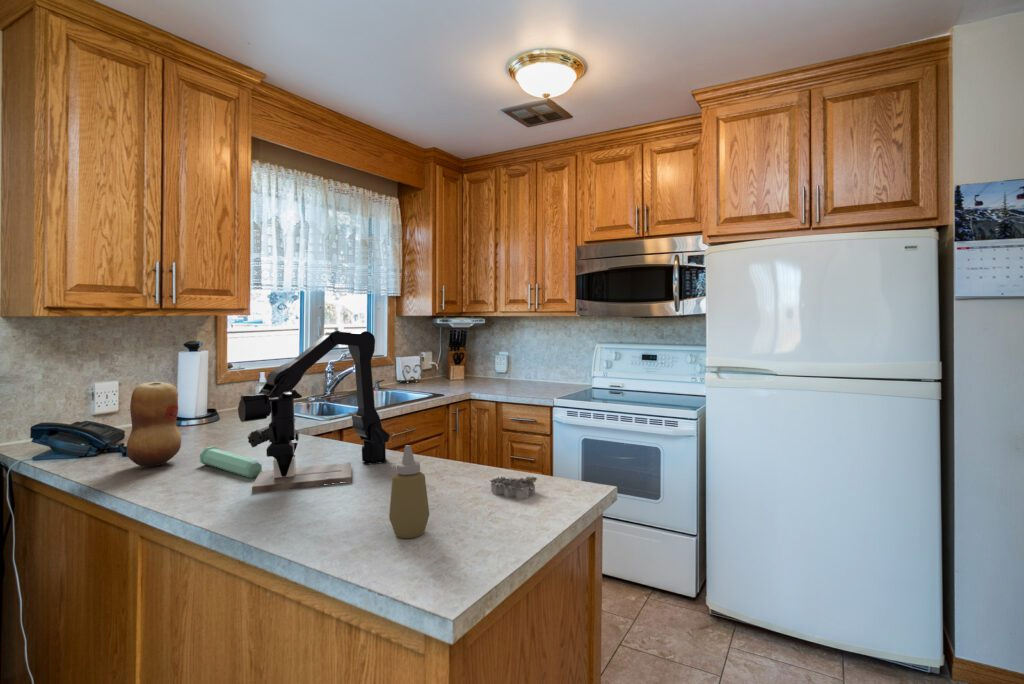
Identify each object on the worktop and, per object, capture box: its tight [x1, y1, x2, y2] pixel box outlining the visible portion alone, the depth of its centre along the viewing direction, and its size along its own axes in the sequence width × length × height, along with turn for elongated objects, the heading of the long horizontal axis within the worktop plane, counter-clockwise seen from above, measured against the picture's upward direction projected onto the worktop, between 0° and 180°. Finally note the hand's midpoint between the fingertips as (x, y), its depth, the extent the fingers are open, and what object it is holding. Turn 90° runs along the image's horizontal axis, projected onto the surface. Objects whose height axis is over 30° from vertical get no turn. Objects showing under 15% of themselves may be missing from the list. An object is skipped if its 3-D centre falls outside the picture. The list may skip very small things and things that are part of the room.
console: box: [251, 462, 352, 493], centre depth 143 cm, size 24×14×2 cm, turn 107°
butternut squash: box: [126, 381, 182, 467], centre depth 158 cm, size 14×13×25 cm
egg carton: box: [488, 476, 538, 500], centre depth 130 cm, size 11×8×4 cm
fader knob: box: [272, 454, 297, 478], centre depth 141 cm, size 5×4×5 cm
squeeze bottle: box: [388, 444, 430, 539], centre depth 106 cm, size 8×8×18 cm
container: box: [199, 445, 263, 479], centre depth 152 cm, size 6×6×25 cm
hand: (284, 473), depth 141 cm, fingers closed on fader knob, 4 cm apart
